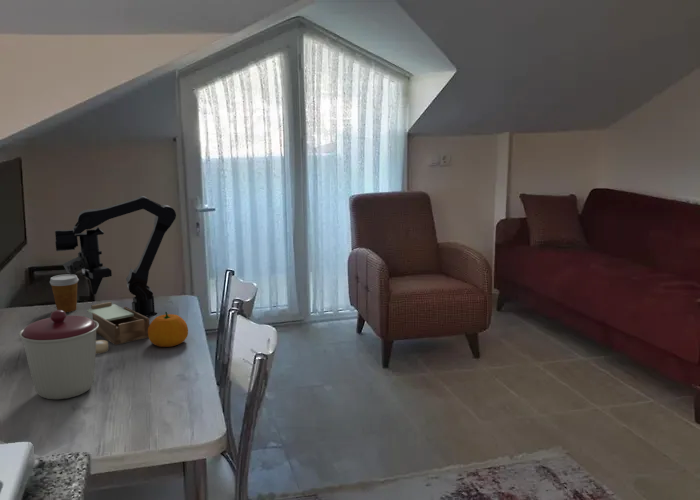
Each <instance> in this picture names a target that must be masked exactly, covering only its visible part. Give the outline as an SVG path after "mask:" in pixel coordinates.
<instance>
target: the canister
mask: <svg viewBox="0 0 700 500" xmlns="http://www.w3.org/2000/svg"><path fill="white" fill-rule="evenodd" d="M98 327H99V324H98V322H96V321H94V320H93V318H89V317H87V316H82V315H67V312H64V311H63V310H57V309H56V310H53V311H52V312H51V313H50V316H49V317H47V318H42V319H38V320H36V321H34V322H32V323H29V324H27V326H26V327H24V328H22V329H21V330H20V331H19V332H18V337H19V339H21V340H22V342H23V343H22V344H23V346H24V347H23V348H24V351H25V356H26V360H27V365H28V368H29V372H30V376H31V380H32V384H33V386H34V389H35V391H36V393H37V394H38V396H40V397H41V398H44V399H48V400H65V399H71V398H74V397H78V396H81V395H83V394H85V393H86V392H87V391H89V390H90V389H91V388H92V386H93V384H94V382H95V376H96V375H95V374H96V373H95V370H96V341H97V334H96V330H97V329H98Z"/></svg>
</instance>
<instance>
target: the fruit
mask: <svg viewBox="0 0 700 500" xmlns="http://www.w3.org/2000/svg"><path fill="white" fill-rule="evenodd" d="M188 334H189V328H188V324H187V323H186V321H185V320H184V318H182V317H181V316H179V315H178V314H172V313H171V314H169V313H167V311H165V313H164V314H160V315H158V316H156V317H155V318H154V319H153V320H152V321H151V322H150V323H149V327H148V339H149V341H150V343H151V344H153V345H155V346H156V347H161V348H172V347H175V346H178V345H181V344H182V343H184V342H185V341H186V339H187V337H188Z"/></svg>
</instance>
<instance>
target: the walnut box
mask: <svg viewBox="0 0 700 500" xmlns="http://www.w3.org/2000/svg"><path fill="white" fill-rule="evenodd" d="M123 309H125V310H127V311H129V312H131V313H133V314H134V316H131V317H126V318H121V319H116V320H112V321H108V320H106V319H104V318H102V317H100V316H98V315H97V314H95V313H93V314H91V316H92V320H94V321H96V322H98V324H99V327H98V329H97V330H96V335H98V336H99V337H102V338H104V340H106V341H108V342H110V343H111V344H114V346H117V345H123V344H126V343H130V342H134V341H135V342H136V341H139V340H144V339H149V337H148V327H149V325H150V318H149V316H143V315H141V314H139V313H137V312H135V311H133V310H132V308H130V307H127V306H125V307H123Z"/></svg>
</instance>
